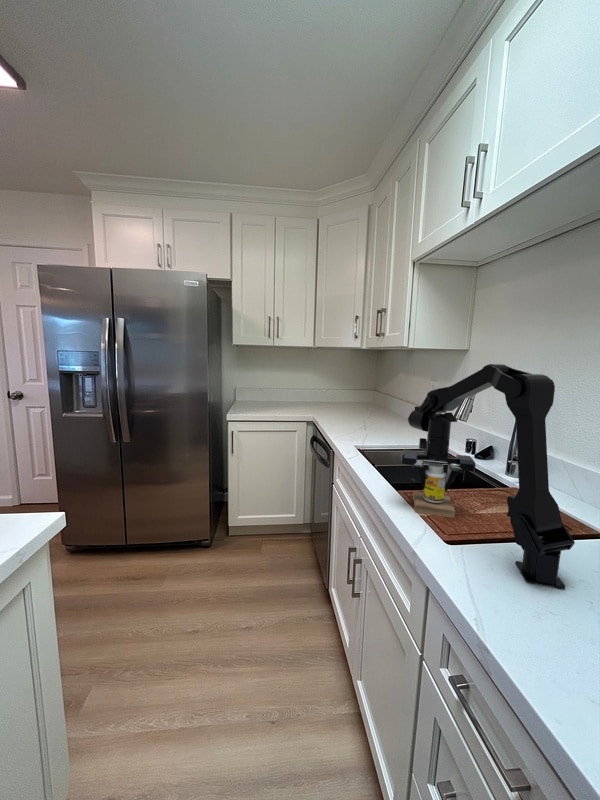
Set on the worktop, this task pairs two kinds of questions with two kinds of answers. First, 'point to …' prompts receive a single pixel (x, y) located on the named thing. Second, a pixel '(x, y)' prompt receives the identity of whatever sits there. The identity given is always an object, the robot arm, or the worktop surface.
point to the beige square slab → (433, 506)
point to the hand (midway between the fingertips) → (434, 489)
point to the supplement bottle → (434, 483)
